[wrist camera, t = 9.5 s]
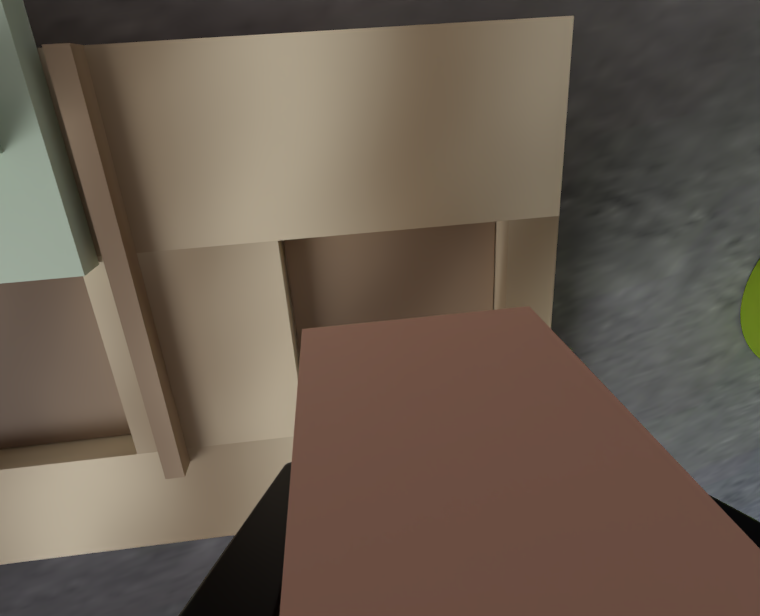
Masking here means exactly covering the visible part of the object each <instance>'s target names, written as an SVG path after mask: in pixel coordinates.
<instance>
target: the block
mask: <svg viewBox="0 0 760 616" xmlns="http://www.w3.org/2000/svg"><path fill="white" fill-rule="evenodd" d="M279 616H760V548H759V547H758V546H757V545H756V544H755V543H754V542H753V541H752V540H751V539H750V538H749V537H748V536H747V535H746V534H745V533H744V532H743V531H742V530H741V528H740V527H739V526H738V525H737V524H736V523H735V522H734V521H733V520H732V519H731V518H730V517H729V516H728V515H727V514H726V513H725V512H724V511H723V510H722V508H721V507H720V506H719V505H718V504H717V503H716V502H715V501H714V500H713V499H712V498H711V497H710V496H709V495H708V494H707V493H706V492H705V491H704V490H703V488H702V487H701V486H700V485H699V484H698V483H697V482H696V481H695V480H694V479H693V478H692V477H691V476H690V475H689V474H688V473H687V472H686V471H685V470H684V468H683V467H682V466H681V465H680V464H679V463H678V462H677V461H676V460H675V459H674V458H673V457H672V456H671V455H670V454H669V453H668V452H667V451H666V450H665V448H664V447H663V446H662V445H661V444H660V443H659V442H658V441H657V440H656V439H655V438H654V437H653V436H652V435H651V434H650V433H649V432H648V431H647V430H646V428H645V427H644V426H643V425H642V424H641V423H640V422H639V421H638V420H637V419H636V418H635V417H634V416H633V415H632V414H631V413H630V412H629V411H628V410H627V408H626V407H625V406H624V405H623V404H622V403H621V402H620V401H619V400H618V399H617V398H616V397H615V396H614V395H613V394H612V393H611V392H610V391H609V390H608V388H607V387H606V386H605V385H604V384H603V383H602V382H601V381H600V380H599V379H598V378H597V377H596V376H595V375H594V374H593V373H592V372H591V371H590V370H589V368H588V367H587V366H586V365H585V364H584V363H583V362H582V361H581V360H580V359H579V358H578V357H577V356H576V355H575V354H574V353H573V352H572V351H571V350H570V348H569V347H568V346H567V345H566V344H565V343H564V342H563V341H562V340H561V339H560V338H559V337H558V336H557V335H556V334H555V333H554V332H553V331H552V330H551V328H550V327H549V326H548V325H547V324H546V323H545V322H544V321H543V320H542V319H541V318H540V317H539V316H538V315H537V314H536V313H535V312H534V311H533V310H532V308H531V307H530V306H526V307H516V308H506V309H496V310H486V311H476V312H466V313H456V314H446V315H436V316H426V317H416V318H406V319H397V320H387V321H377V322H367V323H357V324H347V325H337V326H327V327H317V328H307V329H302V336H301V349H300V361H299V374H298V387H297V399H296V412H295V425H294V437H293V450H292V463H291V476H290V488H289V501H288V514H287V526H286V539H285V552H284V565H283V577H282V590H281V603H280V615H279Z"/></svg>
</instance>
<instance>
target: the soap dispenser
mask: <svg viewBox="0 0 760 616" xmlns="http://www.w3.org/2000/svg"><path fill="white" fill-rule="evenodd" d="M740 318H741V327H742V332H743V335H744V338H745V340H746V342H747V344H748V346H749V347H750V349H751V350H752V351H753V353H754V354H755V355H756V356H757V357H759V358H760V259H759V261H758V262H757V264H756V266H755V267H754V269H753V271H752V273H751V275H750V277H749V280H748V282H747V284H746V287H745V290H744V294H743V298H742V303H741V313H740Z"/></svg>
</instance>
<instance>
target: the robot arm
mask: <svg viewBox="0 0 760 616" xmlns="http://www.w3.org/2000/svg"><path fill="white" fill-rule="evenodd" d="M291 463H292V462H289V463H287V464H285V465H284V467H283V468H282V469H281V471H280V472H279V474H278V475H277V476H276V478H275V479H274V481H273V482H272V484H271V485H270V486H269V488H268V489H267V491H266V492H265V494H264V495H263V496H262V498H261V499H260V501H259V502H258V503H257V505H256V506H255V508H254V509H253V511H252V512H251V513H250V515H249V516H248V518H247V519H246V521H245V522H244V523H243V525H242V526H241V528H240V529H239V531H238V532H237V533H236V535H235V536H234V538H233V539H232V540H231V542H230V543H229V545H228V546H227V548H226V549H225V550H224V552H223V553H222V555H221V556H220V558H219V559H218V560H217V562H216V563H215V565H214V566H213V568H212V569H211V570H210V572H209V573H208V575H207V576H206V577H205V579H204V580H203V582H202V583H201V585H200V586H199V587H198V589H197V590H196V592H195V593H194V595H193V596H192V597H191V599H190V600H189V602H188V603H187V604H186V606H185V607H184V609H183V610H182V612H181V613H180V614H179V616H279V615H280V603H281V590H282V577H283V565H284V552H285V539H286V526H287V514H288V501H289V488H290V476H291ZM709 496H710V495H709ZM710 497H711V498H712V499H713V500H714V501H715V502H716V503H717V504H718V505H719V506H720V507H721V508H722V510H723V511H724V512H725V513H726V514H727V515H728V516H729V517H730V518H731V519H732V520H733V521H734V522H735V523H736V524H737V525H738V526H739V527H740V528H741V530H742V531H743V532H744V533H745V534H746V535H747V536H748V537H749V538H750V539H751V540H752V541H753V542H754V543H755V544H756V545H757V546H758V547H759V548H760V522H759V521H757V520H755V519H753V518H751V517H749V516H747V515H746V514H744V513H742V512H740V511H738V510H736V509H734V508H733V507H731V506H729V505H727V504H725V503H723V502H721V501H720V500H718V499H716V498H714V497H712V496H710Z"/></svg>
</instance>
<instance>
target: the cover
mask: <svg viewBox="0 0 760 616" xmlns="http://www.w3.org/2000/svg"><path fill="white" fill-rule="evenodd" d="M98 265H99V262H98V258H97V255H96V251H95V248H94V244H93V241H92V237H91V234H90V230H89V227H88V224H87V220H86V217H85V213H84V210H83V206H82V203H81V199H80V196H79V192H78V189H77V185H76V182H75V179H74V175H73V172H72V168H71V165H70V161H69V158H68V154H67V151H66V147H65V144H64V141H63V137H62V134H61V130H60V127H59V123H58V120H57V116H56V113H55V109H54V106H53V102H52V99H51V96H50V92H49V89H48V85H47V82H46V78H45V75H44V71H43V68H42V64H41V61H40V57H39V54H38V51H37V47H36V44H35V40H34V37H33V33H32V30H31V26H30V23H29V19H28V16H27V12H26V9H25V6H24V2H23V0H0V284H2V283H13V282H24V281H35V280H46V279H57V278H68V277H79V276H85V275H87V274H88V273H89V272H90V271H92V270H93V269H94V268H95V267H97V266H98Z"/></svg>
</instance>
